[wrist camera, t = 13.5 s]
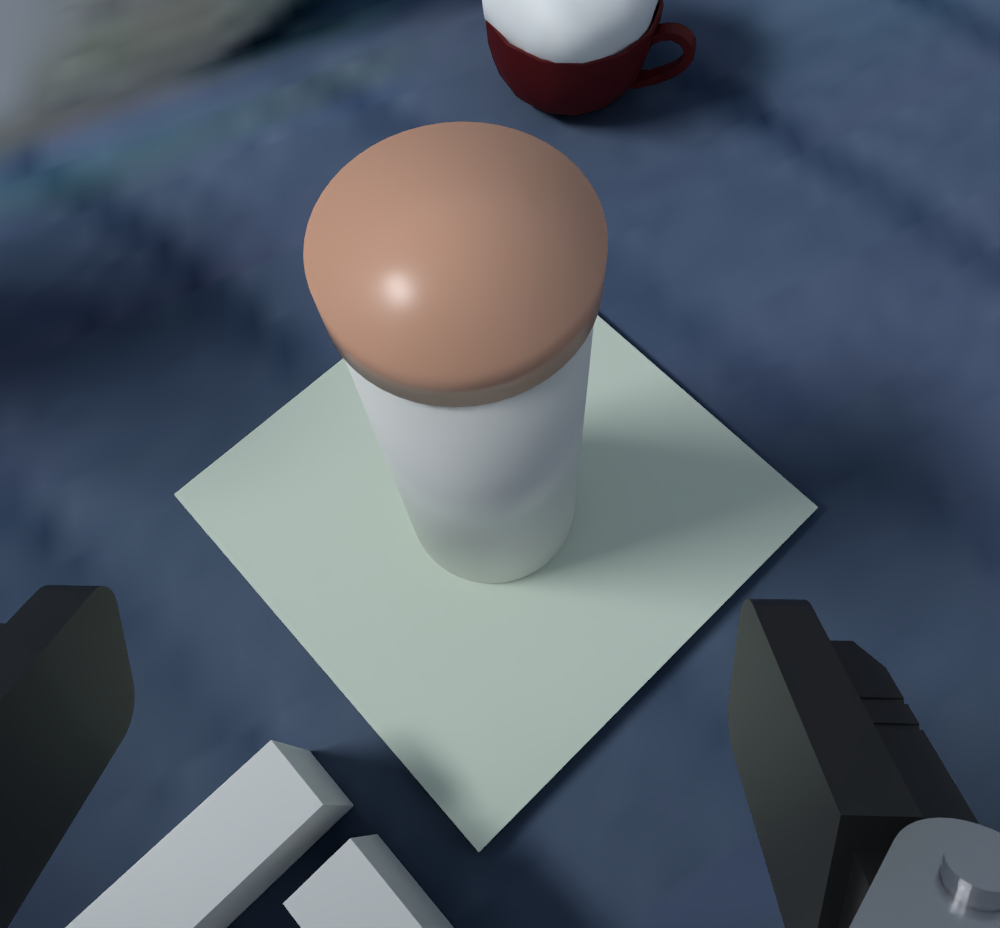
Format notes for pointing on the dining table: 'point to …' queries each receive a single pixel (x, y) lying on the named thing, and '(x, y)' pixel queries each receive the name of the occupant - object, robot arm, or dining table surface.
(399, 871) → the frame
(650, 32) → the cocoa
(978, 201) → the dining table surface
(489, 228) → the mushroom
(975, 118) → the dining table surface
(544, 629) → the pad
